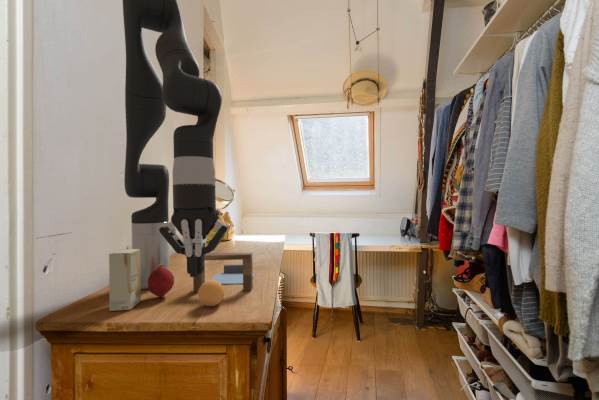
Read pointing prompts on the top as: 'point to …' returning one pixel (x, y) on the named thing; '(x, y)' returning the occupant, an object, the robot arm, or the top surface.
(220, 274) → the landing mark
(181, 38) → the robot arm
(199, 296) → the ball
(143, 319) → the top surface
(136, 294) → the skincare box
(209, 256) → the bridge
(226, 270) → the stopper strip
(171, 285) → the onion
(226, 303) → the top surface
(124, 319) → the top surface
